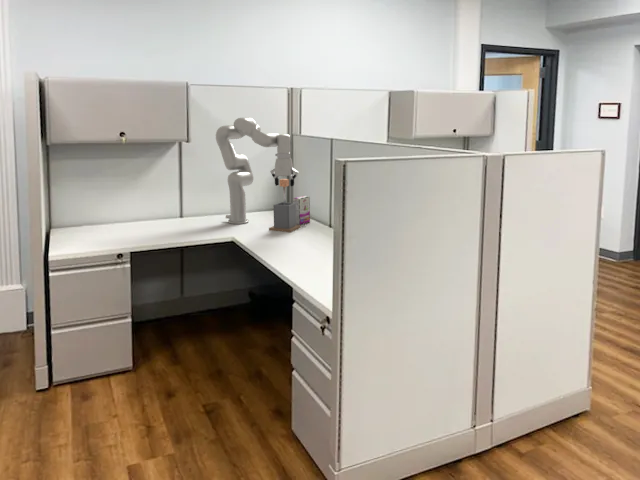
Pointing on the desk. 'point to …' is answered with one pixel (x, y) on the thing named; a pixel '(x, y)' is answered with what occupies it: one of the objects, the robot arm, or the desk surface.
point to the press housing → (285, 217)
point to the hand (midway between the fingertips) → (284, 185)
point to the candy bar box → (302, 209)
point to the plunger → (284, 188)
